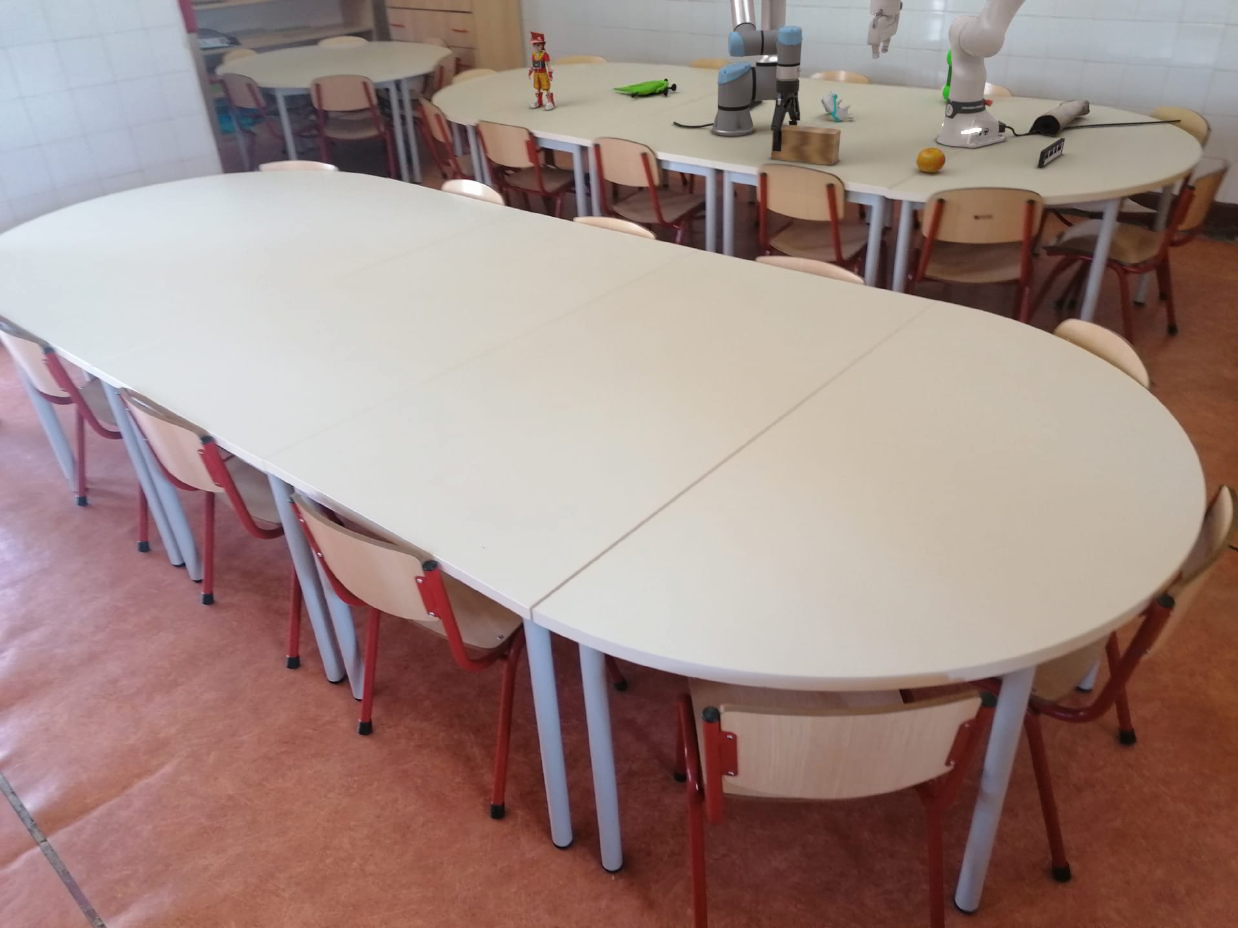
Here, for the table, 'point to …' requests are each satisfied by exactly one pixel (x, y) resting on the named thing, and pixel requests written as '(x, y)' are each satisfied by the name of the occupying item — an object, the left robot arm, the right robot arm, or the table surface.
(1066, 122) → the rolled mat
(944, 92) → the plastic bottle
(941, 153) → the fruit
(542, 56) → the toy
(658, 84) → the toy
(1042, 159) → the midi keyboard
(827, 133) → the box
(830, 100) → the anatomical model
